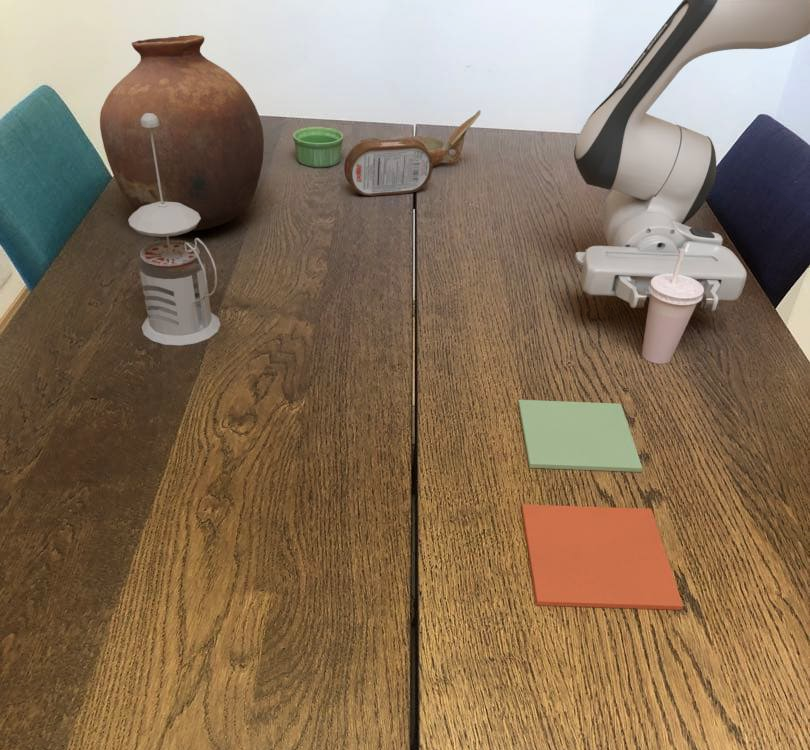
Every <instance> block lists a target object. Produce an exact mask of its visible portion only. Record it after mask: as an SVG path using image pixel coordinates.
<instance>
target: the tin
mask: <svg viewBox="0 0 810 750" xmlns="http://www.w3.org/2000/svg"><path fill="white" fill-rule="evenodd" d="M343 165H344V167H343V171H344V176H345V179H346V181H347V182H348V183H349V185H350V186H351V188H352V189H353V190H355V192H357V193H358V194H360V195H362V196H366V197H376V196H390V195H404V194H414V193H417V192H418V191H420V190H422V189H423V188H424V187H425V186H426V185H427V184H428V182H429V181H430V180H431V177H432V174H433V169H434V166H433V161H432V157H431V155H430V153H429V152H428V150H427V148H426V147H425V145H424V144H423V143H421V142H420V141H418V140H416V139H403V138H394V139H384V140H367V141H363V142H359V143H357V144H356V145H354V146H353V147H352V148H351V150H349V152H348V153H347V156H346V157H345V160H344V164H343Z"/></svg>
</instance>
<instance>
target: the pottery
mask: <svg viewBox="0 0 810 750" xmlns="http://www.w3.org/2000/svg"><path fill="white" fill-rule="evenodd" d="M205 40H206V39H205V37H204V36H203V35H198V34H189V35H178V36H169V37H157V38H146V39H143V40H140V39H139V40H136V41H132V42H131V46H132V48H133V49H134V51H136V52H137V53H138V54H139V56H140V61H139V62H138V64H137V65H136V66H135V67H134V68H133V69H132V70H131V71H130V72H128V73H127V74H126V75H125V76H124V77H122V79H120V81H119V82H117V84H116V85H114V86H113V88H112V89H111V90H110V92H109V93H108V94H107V96H106V98H105V100H104V102H103V105H102V107H101V109H100V113H99V129H100V130H99V131H100V135H101V140H102V144H103V149H104V152H105V155H106V156H105V157H106V159H107V162H108V165H109V168H110V171H111V172H112V175H113V177H114V179H115V182H116V184H117V187H118V188H119V190H120V192H121V194H122V195H123V197H124V198H125V200H126V201H127V203H128V204H129V205H130V206H131V208H132V209H133V210H134V212H135V211H137V210H138V209H139V208H140V207H142V206H145V205H149V204H152V203H156V202H160V201H161V199H160V192H159V186H158V179H157V173H156V167H155V160H154V154H153V147H152V141H151V135H150V128H147V127H143V126H141V118H142V116H143V115H144V114H145V113H153V114H155V115H156V116H157V118H158V120H159V126H157V127H153V128H152V133H153V140H154V146H155V153H156V159H157V166H158V172H159V178H160V185H161V191H162V198H163V202H176V203H181V204H183V205H185V206H187V207H189V208H191V209H193V210H194V211H196V212H198V213H199V215H200V218H201V219H200V220H199V222H198V224H197V226H196V228H194V229H192V230H191V231H190V232H192V231H202V230H207V229H211V228H215V227H219V226H221V225H224V224H226V223H228V222H230V221H232V220H233V219H235V218H236V217H238V216H239V215H240V214H242V213H243V212H244V211H245V210H246V209H247V208H248V207H249V205H251V203H252V201H253V199H254V197H255V195H256V191H257V187H258V185H259V180H260V176H261V172H262V168H263V163H264V153H265V152H264V147H265V140H264V129H263V125H262V122H261V118H260V115H259V112H258V110H257V107H256V104H255V103H254V101H253V99H252V98H251V96H250V95H249V93H248V92H247V90H246V89H245V87H244V86H243V85H242V84H241V83H240V82H239V80H237V79H236V78H235V77H234V76H233V75H232V74H231V73H230V72H229V71H227V70H226V69H224V68H223V67H221V66H219V64H216V63H215V62H212V61H211V60H209V59H208V58H206V57H205V56H204V55H203V54H202V53H201V48H202V45H203V44H204V43H205Z"/></svg>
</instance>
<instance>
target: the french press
mask: <svg viewBox="0 0 810 750" xmlns="http://www.w3.org/2000/svg"><path fill="white" fill-rule="evenodd" d="M141 126H143V127H147V128H150V135H151V141H152V147H153V154H154V160H155V167H156V173H157V179H158V186H159V192H160V199H161V201H160V202H156V203H152V204H149V205H145V206H142V207H140V208H139V209H138V210H137V211H135V210H134V212H132V214H131V215H130V216H129V218H128V224H129V226H130V227H131V229H132V230H134V231H135V232H137V233H138V234H141V235H144V236H149V237H159V238H160V237H161V238H164V237H165V238H166V239H163V240H157V241H154V242H151V243H149V244H146V245H144V246H143V247H142V248H141V249H140V251H139V253H138V256H139V258H140V260H141V261H140V262H139V264H137V265H138V271H139V276H140V281H141V283H140V284H141V285H142V294H143V296H144V304H145V309H146V313H147V317H146V318H145V319H144V322H143V323H142V326H141V329H142V334H143V336H145V337H146V338H147V339H148V340H150V341H151V342H155V343H158V344H161V345H166V346H186V345H194V344H198V343H200V342H203V341H206V340H209V339H210V338H212V337H213V336H214V335H215V334H216V333H218V332H219V330H220V328H221V321H220V319H219V317H218V316H217V315H216V314H214V313H212V309H211V302H210V297H211V296H213V295H214V294H215V293H216V290H217V286H218V275H217V267H216V262H215V260H214V258H213V255H212V254H211V252H210V250H209V249H208V247H207V245H206V244H205V243H204V242H203V241H202V240H201V239H200V238H199V237H195V238H194V243H193V242H191V241H187V240H183V239H182V240H181V239H170V237H176V236H180V235H183V234H187V233H189V232H192V231H191V230H192V229H194V228H196V226H197V224H198V222H199V220H200V219H201V218H200V215H199V213H198V212H196V211H194V210H193V209H191V208H189V207H187V206H185V205H183V204H181V203H176V202H163V198H162V191H161V185H160V178H159V172H158V166H157V159H156V153H155V146H154V140H153V133H152V128H153V127H157V126H159V120H158V118H157V116H156V115H155V114H153V113H145V114H144V115H143V116H142V118H141ZM198 243H199V244H201V245H202V247H203V248H204V250H205V251H206V254H208V256H209V259H210V261H211V264H212V267H213V271H214V287H213V289H212V291H211V292H210V293H209V287H208V278H207V271H206V263H205V259H203V258H202V257H201V256H200V255H201V253H202V251H201V249H200V247H199V246H198ZM194 264H197V265H200V267H201V268H199V267H196V268H193V269H189V270H186V271H179V272H172V271H168V270H169V269H178V268H184V267H188V266H191V265H194ZM193 275H196V278H193ZM196 284H197V286H198V287H195V286H194V285H196ZM198 293H199V296H197V297H196V296H195V294H198Z"/></svg>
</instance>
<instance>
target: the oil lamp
mask: <svg viewBox="0 0 810 750" xmlns="http://www.w3.org/2000/svg"><path fill="white" fill-rule="evenodd" d="M480 116H481V110H480V109H479V110H478V111H477V112H476V113H475V114H474V115H472V116H471V117H470V118H468V119H467V120H465V121H464V122H463V123H461V124H460V125H459V127H456V129H455V130H454V132H452V134H451V136H450V137H449V138H448V139H447V140H446V141H445V142H444V141H443V140H441V139H438V138H436V137H432V136H423V135H417V136H416V135H413V136H403V138H402V139H416V140H418V141H420V142H421V143H423V144H424V145H425V147H426V148H427V150H428V152H429V153H430V155H431V157H432V161H433V167H436V166H437V165H439V164H443V163H444V164H445V163H446V164H451V163H455V162H457V161H458V160H459V158H460V156H461V154H462V151H463V147H464V143H465V137H466V134H467V131H468V129H470V127H472V125H474V123H475V122H476V120H477V119H478V118H479V117H480ZM367 140H385V139H384V138H376V137H368V138H364V139H361V140H360V142H359V143H361V142H363V141H367ZM451 150H453V151H455V152H454V153H455V154H454V155H451V154H450V151H451Z"/></svg>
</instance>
